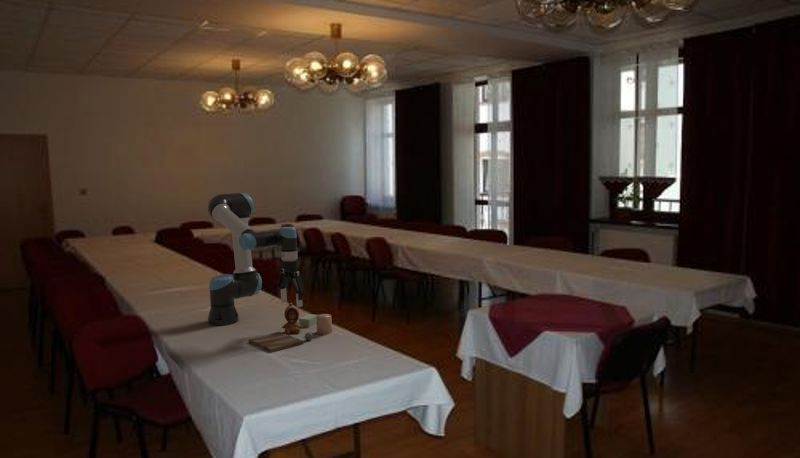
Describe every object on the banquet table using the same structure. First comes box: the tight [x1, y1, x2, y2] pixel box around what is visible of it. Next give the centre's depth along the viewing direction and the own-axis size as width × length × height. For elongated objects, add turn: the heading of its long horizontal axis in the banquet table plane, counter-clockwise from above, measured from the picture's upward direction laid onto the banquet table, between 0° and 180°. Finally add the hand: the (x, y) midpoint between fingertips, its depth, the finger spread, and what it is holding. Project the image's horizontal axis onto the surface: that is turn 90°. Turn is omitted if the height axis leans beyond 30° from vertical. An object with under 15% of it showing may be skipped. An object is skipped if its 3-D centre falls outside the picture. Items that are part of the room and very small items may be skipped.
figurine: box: [281, 302, 304, 335], centre depth 278 cm, size 10×8×15 cm
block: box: [298, 313, 318, 328], centre depth 291 cm, size 6×9×4 cm, turn 154°
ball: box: [304, 332, 314, 341], centre depth 264 cm, size 4×4×4 cm
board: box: [247, 331, 304, 353], centre depth 261 cm, size 20×16×2 cm
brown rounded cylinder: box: [316, 313, 333, 336], centre depth 276 cm, size 7×7×8 cm
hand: (291, 304), depth 277 cm, fingers open, 13 cm apart
